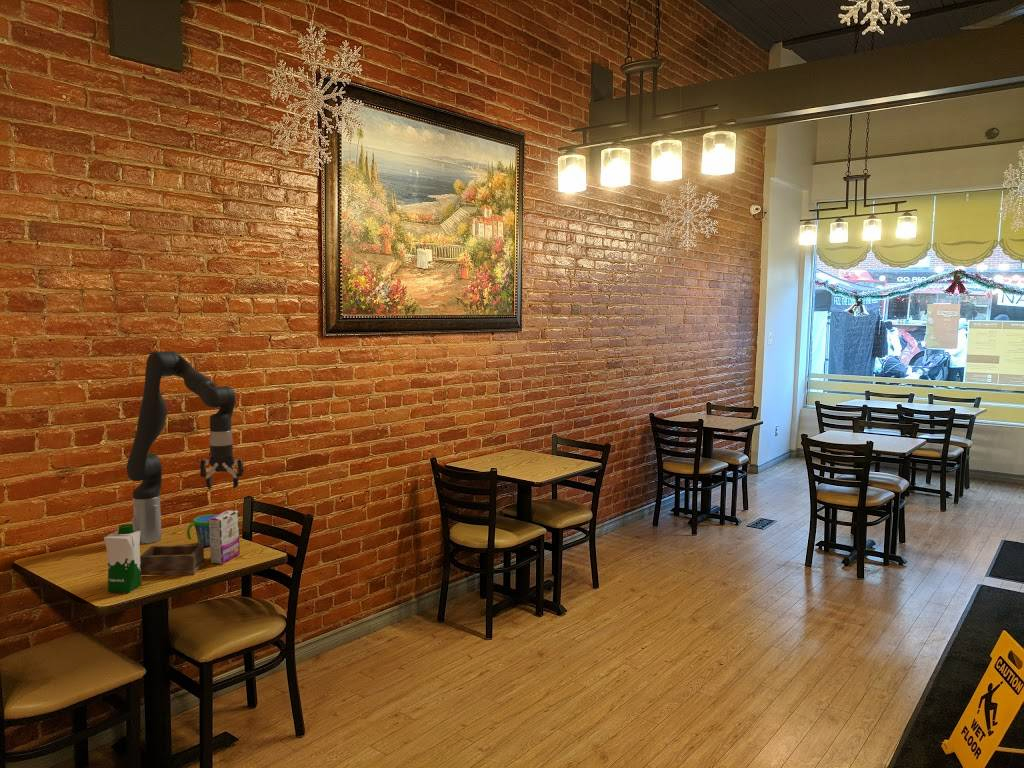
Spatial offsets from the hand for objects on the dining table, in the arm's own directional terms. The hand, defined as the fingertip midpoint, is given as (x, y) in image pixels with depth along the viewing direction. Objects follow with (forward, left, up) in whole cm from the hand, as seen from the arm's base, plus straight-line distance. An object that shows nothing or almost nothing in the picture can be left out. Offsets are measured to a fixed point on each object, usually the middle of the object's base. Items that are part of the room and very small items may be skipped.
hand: (222, 488), depth 258 cm
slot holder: (-15, -9, -26) cm, 31 cm away
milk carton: (-24, -26, -26) cm, 44 cm away
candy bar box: (0, 0, -26) cm, 26 cm away
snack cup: (-10, +18, -26) cm, 33 cm away
